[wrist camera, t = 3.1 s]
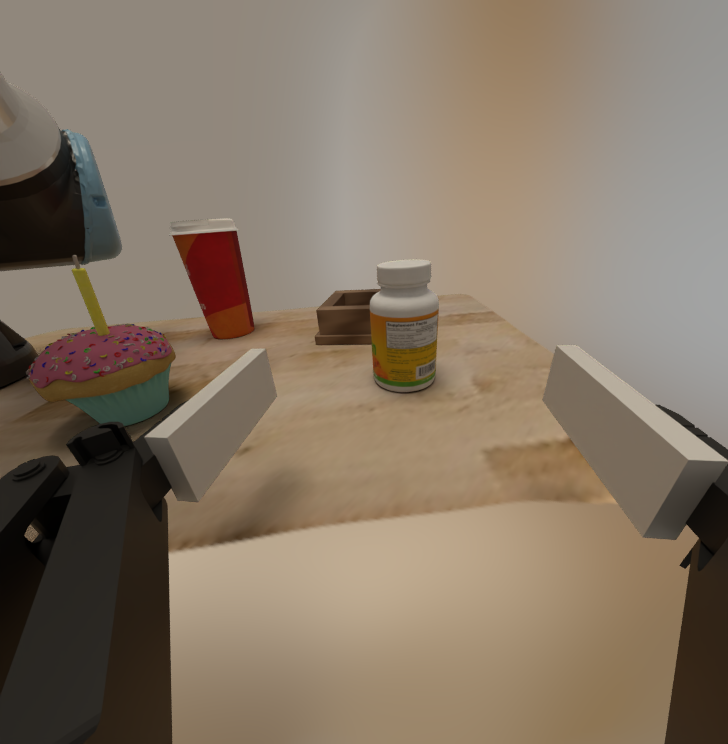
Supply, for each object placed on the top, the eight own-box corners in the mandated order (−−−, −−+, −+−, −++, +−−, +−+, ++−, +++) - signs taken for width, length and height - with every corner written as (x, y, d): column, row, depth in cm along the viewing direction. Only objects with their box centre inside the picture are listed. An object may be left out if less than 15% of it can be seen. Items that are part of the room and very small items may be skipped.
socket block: (315, 344, 34) (310, 311, 33) (336, 316, 44) (333, 290, 42) (409, 343, 33) (409, 308, 31) (409, 314, 42) (409, 287, 41)
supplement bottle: (377, 364, 29) (372, 260, 24) (433, 365, 28) (438, 256, 23) (370, 393, 24) (361, 270, 20) (436, 395, 23) (444, 266, 19)
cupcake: (213, 389, 26) (162, 246, 21) (119, 455, 19) (3, 264, 14) (144, 381, 29) (82, 251, 23) (39, 436, 22) (-87, 268, 16)
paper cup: (227, 323, 45) (197, 222, 39) (271, 323, 43) (248, 217, 37) (190, 342, 38) (147, 223, 32) (242, 343, 37) (206, 218, 30)
